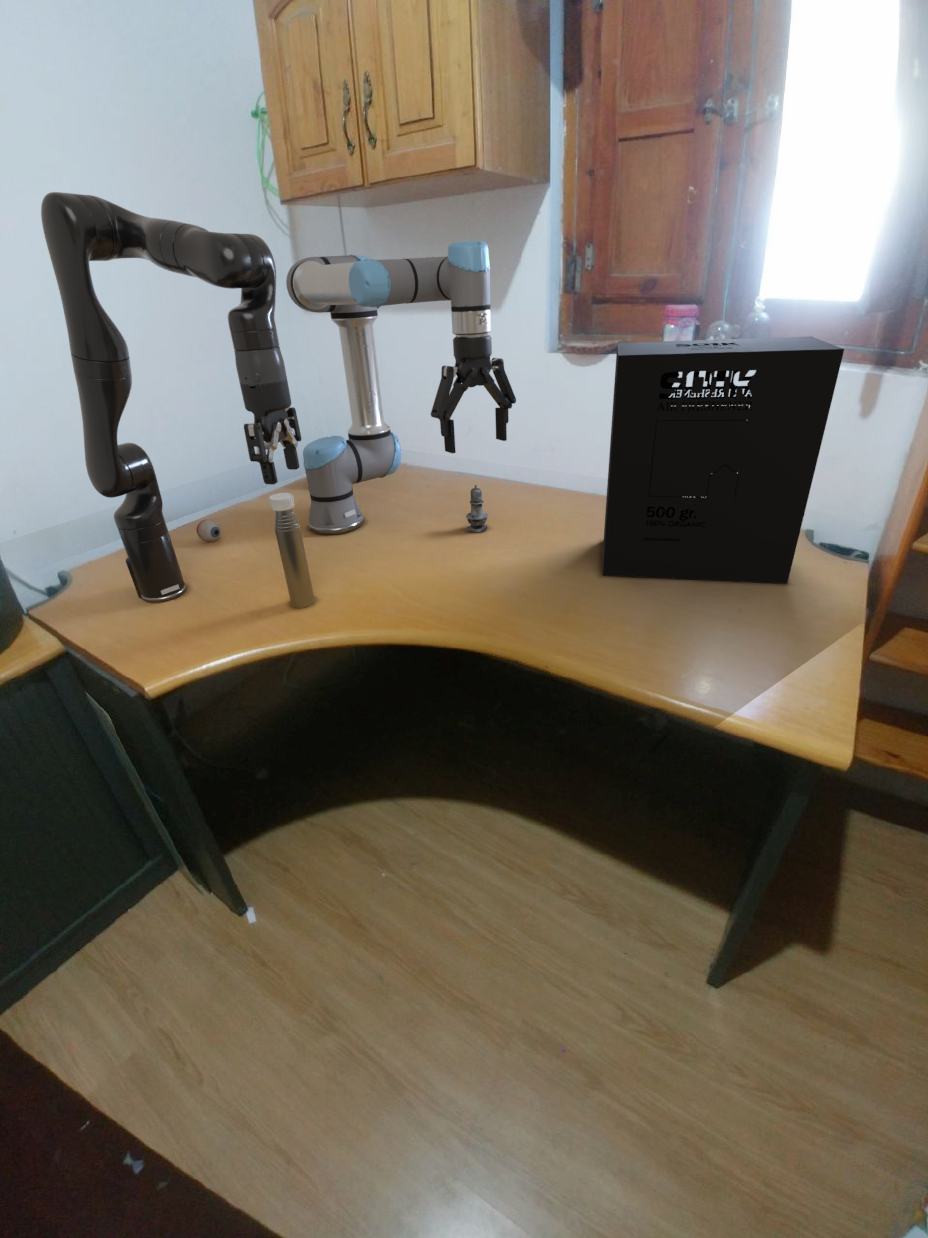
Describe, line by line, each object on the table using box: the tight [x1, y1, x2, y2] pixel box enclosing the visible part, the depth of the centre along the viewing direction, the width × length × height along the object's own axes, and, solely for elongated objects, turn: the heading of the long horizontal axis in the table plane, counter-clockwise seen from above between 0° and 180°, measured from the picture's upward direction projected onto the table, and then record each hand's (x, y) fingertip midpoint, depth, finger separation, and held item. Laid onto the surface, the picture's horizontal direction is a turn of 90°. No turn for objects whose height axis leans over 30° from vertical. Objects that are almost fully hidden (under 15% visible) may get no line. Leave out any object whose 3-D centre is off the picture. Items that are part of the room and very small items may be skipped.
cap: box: [268, 492, 295, 512], centre depth 119 cm, size 4×4×2 cm
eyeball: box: [196, 518, 222, 543], centre depth 162 cm, size 6×6×6 cm
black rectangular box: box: [602, 336, 845, 585], centre depth 127 cm, size 38×20×45 cm, turn 78°
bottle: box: [273, 508, 316, 609], centre depth 124 cm, size 5×5×23 cm
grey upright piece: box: [465, 484, 489, 533], centre depth 159 cm, size 6×6×12 cm
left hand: (282, 476), depth 106 cm, fingers open, 8 cm apart
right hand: (476, 445), depth 127 cm, fingers open, 13 cm apart
